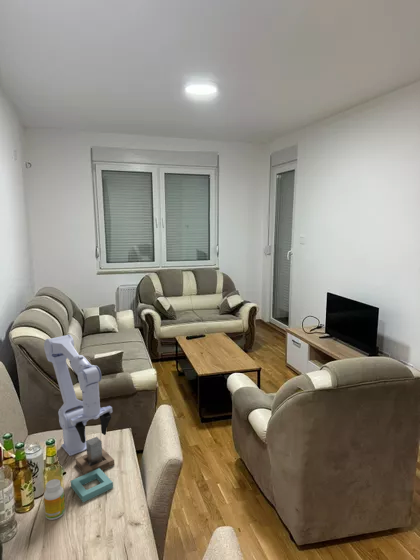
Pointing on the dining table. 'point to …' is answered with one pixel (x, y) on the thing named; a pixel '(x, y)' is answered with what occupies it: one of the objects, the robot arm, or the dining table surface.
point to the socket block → (105, 464)
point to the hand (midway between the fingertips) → (93, 437)
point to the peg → (94, 451)
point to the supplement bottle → (54, 500)
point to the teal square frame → (94, 491)
